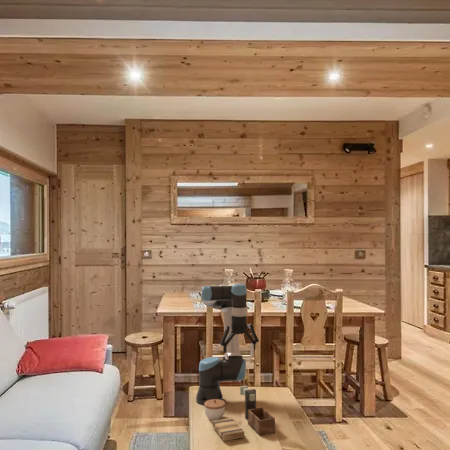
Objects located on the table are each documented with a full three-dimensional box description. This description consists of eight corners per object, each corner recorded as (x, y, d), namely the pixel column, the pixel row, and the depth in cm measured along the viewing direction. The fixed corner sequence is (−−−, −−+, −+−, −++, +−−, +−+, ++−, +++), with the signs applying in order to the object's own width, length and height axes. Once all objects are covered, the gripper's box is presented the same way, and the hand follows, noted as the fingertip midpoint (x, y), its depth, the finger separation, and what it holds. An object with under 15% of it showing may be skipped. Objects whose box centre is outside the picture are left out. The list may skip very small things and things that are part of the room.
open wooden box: (247, 424, 217) (247, 409, 217) (262, 421, 219) (262, 407, 220) (259, 436, 203) (259, 420, 204) (275, 433, 206) (274, 418, 206)
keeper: (245, 418, 223) (245, 390, 224) (254, 416, 225) (254, 388, 225) (246, 420, 221) (246, 391, 222) (256, 418, 223) (255, 390, 223)
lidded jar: (222, 423, 217) (222, 404, 218) (202, 421, 220) (202, 403, 220) (227, 414, 228) (227, 396, 228) (207, 413, 230) (207, 395, 230)
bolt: (240, 394, 231) (239, 386, 232) (246, 393, 233) (246, 385, 233) (249, 402, 220) (249, 394, 220) (256, 401, 221) (256, 393, 222)
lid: (212, 428, 212) (212, 420, 212) (231, 425, 215) (231, 417, 215) (223, 443, 197) (223, 435, 197) (244, 439, 200) (244, 431, 200)
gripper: (217, 318, 211) (218, 362, 211) (265, 314, 219) (265, 357, 219) (213, 315, 218) (213, 358, 218) (259, 312, 226) (259, 353, 226)
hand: (239, 357), depth 219 cm, fingers open, 13 cm apart
